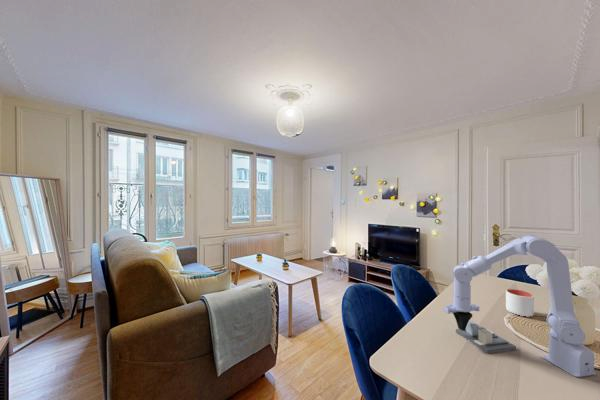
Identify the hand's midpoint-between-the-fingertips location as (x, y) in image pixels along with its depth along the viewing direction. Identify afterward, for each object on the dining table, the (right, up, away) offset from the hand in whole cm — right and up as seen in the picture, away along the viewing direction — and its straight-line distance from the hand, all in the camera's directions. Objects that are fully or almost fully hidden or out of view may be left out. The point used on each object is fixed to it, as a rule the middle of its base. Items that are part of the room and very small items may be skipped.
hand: (461, 329), depth 93 cm
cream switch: (+6, -2, -5) cm, 8 cm away
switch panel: (+8, -4, -2) cm, 9 cm away
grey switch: (+5, -2, +1) cm, 6 cm away
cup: (+43, -4, +21) cm, 48 cm away
